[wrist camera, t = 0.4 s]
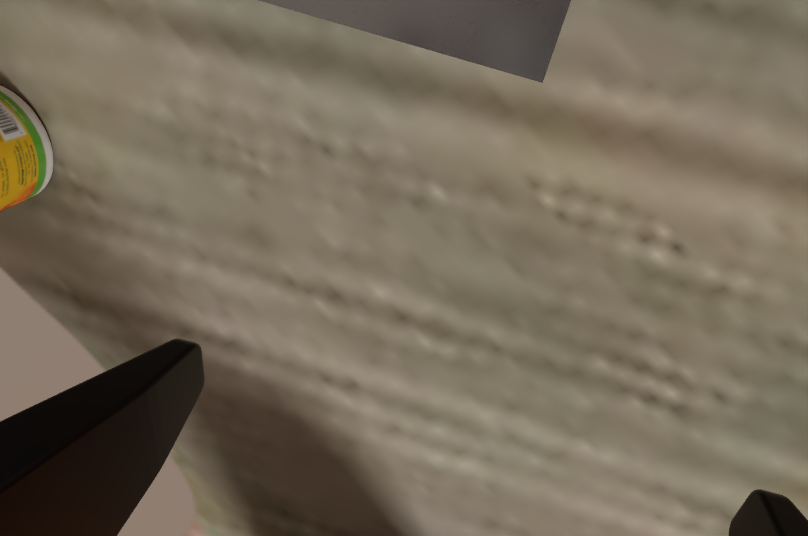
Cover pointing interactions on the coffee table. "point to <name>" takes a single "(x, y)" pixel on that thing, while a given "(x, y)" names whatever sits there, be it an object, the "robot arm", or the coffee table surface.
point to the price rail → (457, 27)
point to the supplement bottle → (22, 151)
